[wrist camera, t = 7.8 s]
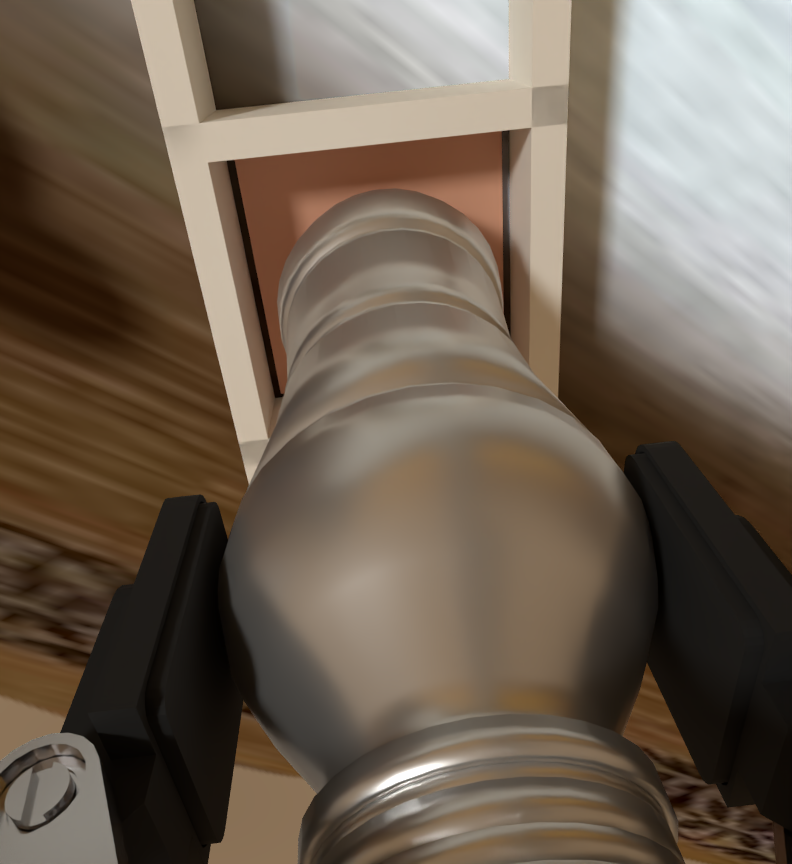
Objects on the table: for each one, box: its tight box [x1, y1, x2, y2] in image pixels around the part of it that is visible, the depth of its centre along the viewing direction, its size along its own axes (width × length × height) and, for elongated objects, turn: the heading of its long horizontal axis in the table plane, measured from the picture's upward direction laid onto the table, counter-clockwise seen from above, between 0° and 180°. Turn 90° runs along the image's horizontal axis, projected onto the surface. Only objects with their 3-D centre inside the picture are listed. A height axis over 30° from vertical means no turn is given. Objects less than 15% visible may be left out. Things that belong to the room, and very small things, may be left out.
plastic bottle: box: [217, 188, 685, 864], centre depth 14 cm, size 6×7×20 cm
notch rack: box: [131, 0, 572, 484], centre depth 23 cm, size 31×11×3 cm, turn 5°
